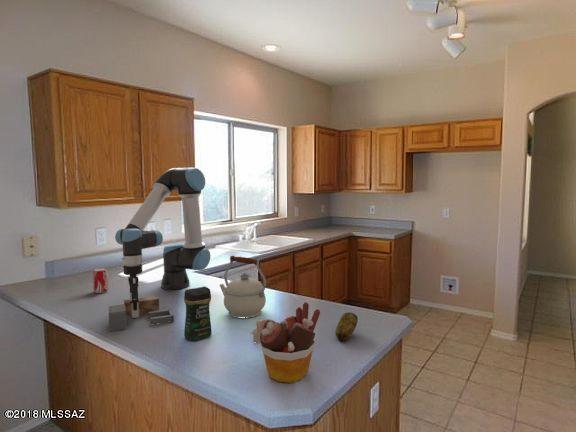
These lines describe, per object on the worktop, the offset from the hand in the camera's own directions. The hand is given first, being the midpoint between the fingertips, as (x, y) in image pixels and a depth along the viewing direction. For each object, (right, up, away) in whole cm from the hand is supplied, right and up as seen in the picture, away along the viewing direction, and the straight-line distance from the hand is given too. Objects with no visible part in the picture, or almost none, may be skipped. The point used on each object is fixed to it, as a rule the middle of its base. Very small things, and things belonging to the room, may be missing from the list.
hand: (134, 312), depth 164 cm
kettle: (+47, -1, +1) cm, 47 cm away
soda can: (-31, +2, +32) cm, 44 cm away
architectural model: (+57, -4, -28) cm, 64 cm away
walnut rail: (+3, -1, +1) cm, 3 cm away
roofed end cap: (-1, -2, -14) cm, 15 cm away
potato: (+89, -3, -24) cm, 92 cm away
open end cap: (+14, -1, -7) cm, 16 cm away
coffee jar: (+34, -3, -25) cm, 42 cm away
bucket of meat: (+68, -5, -51) cm, 85 cm away
